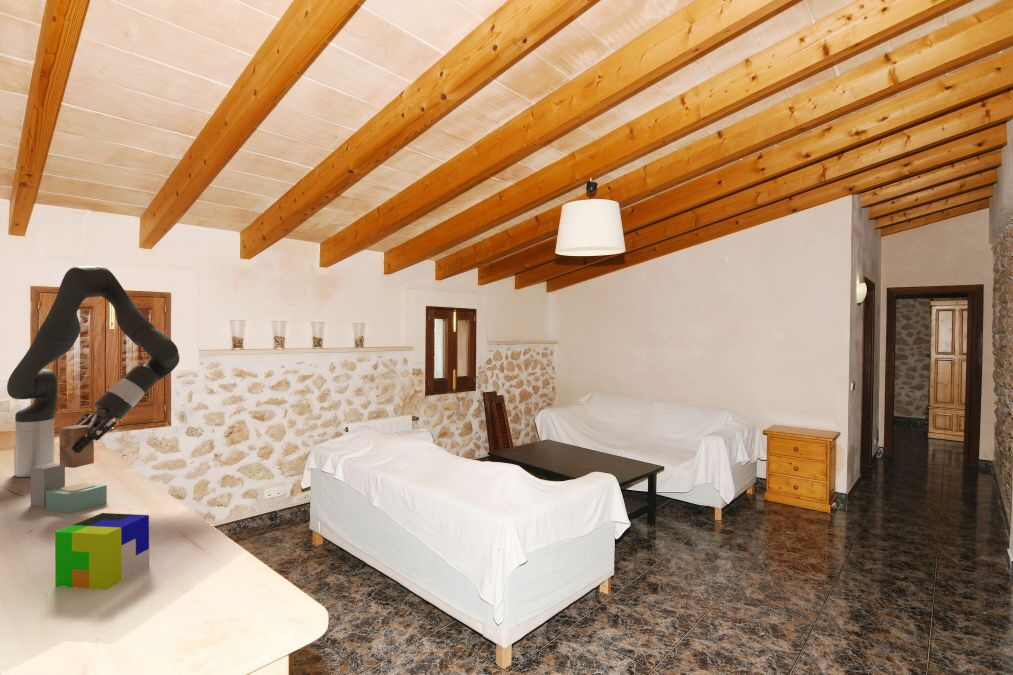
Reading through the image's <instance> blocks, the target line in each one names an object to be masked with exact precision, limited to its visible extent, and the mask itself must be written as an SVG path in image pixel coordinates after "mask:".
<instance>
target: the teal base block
mask: <svg viewBox="0 0 1013 675" xmlns="http://www.w3.org/2000/svg"><path fill="white" fill-rule="evenodd" d="M107 487H108V485H107V484H103V483H101V484H100V483H94V482H87V481H81V482H77V483H73V484H69V485H65V486H64V487H60V488H56V489H52V490H48V491H46V507H45V509H46V510H48V511H54V512H60V513H64V514H71V513H77V512H80V511H82V510H85V509H89V508H93V507H96V506H99V505H102V504H106V502H108V501H107V500H108V499H107V498H108V497H107V496H108V495H107V492H108V491H107V490H108V488H107Z"/></svg>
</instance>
